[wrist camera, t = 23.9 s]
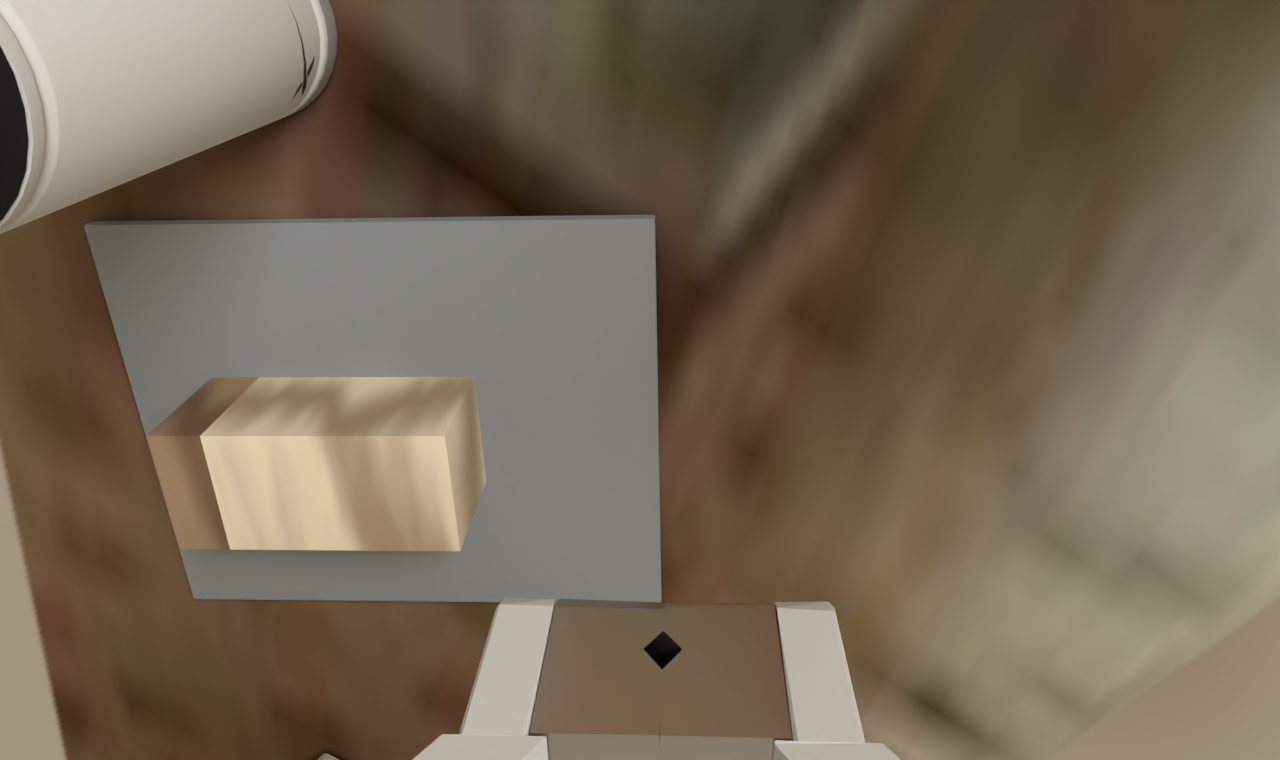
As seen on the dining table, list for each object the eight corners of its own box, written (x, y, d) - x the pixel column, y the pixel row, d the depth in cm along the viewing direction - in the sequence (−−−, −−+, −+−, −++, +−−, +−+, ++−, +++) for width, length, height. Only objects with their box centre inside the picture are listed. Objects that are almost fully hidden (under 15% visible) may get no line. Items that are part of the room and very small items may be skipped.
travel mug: (382, 58, 32) (-7, 193, 14) (242, 148, 34) (-269, 374, 16) (271, -116, 30) (-362, -222, 12) (126, -10, 31) (-624, 40, 13)
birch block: (445, 436, 32) (146, 436, 33) (460, 551, 34) (179, 549, 35) (474, 376, 37) (211, 377, 37) (486, 481, 39) (237, 480, 39)
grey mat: (655, 214, 34) (654, 218, 34) (661, 595, 42) (661, 603, 41) (92, 221, 35) (83, 225, 35) (200, 590, 43) (193, 598, 42)
